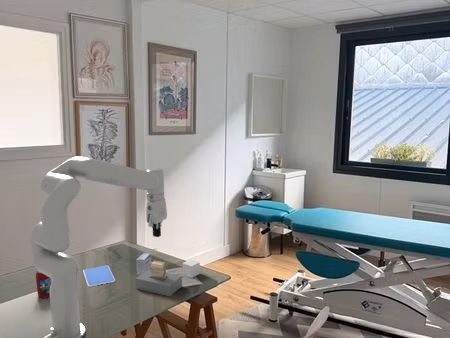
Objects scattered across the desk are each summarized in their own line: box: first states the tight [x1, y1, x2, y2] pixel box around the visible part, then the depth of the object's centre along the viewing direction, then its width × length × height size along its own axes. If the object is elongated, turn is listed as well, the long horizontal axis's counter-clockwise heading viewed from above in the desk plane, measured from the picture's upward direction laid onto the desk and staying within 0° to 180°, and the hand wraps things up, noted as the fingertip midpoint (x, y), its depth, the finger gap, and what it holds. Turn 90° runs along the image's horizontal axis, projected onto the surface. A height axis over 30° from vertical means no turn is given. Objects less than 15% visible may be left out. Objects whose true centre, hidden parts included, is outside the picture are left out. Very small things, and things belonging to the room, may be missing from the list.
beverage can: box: [35, 269, 52, 299], centre depth 182 cm, size 7×7×12 cm
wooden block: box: [151, 260, 167, 281], centre depth 188 cm, size 3×6×12 cm, turn 66°
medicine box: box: [135, 252, 152, 277], centre depth 203 cm, size 8×4×9 cm, turn 168°
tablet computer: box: [82, 265, 116, 288], centre depth 201 cm, size 19×13×1 cm, turn 26°
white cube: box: [181, 259, 201, 279], centre depth 202 cm, size 6×6×6 cm
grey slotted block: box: [135, 269, 183, 297], centre depth 189 cm, size 10×18×5 cm, turn 66°
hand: (156, 236), depth 184 cm, fingers closed
